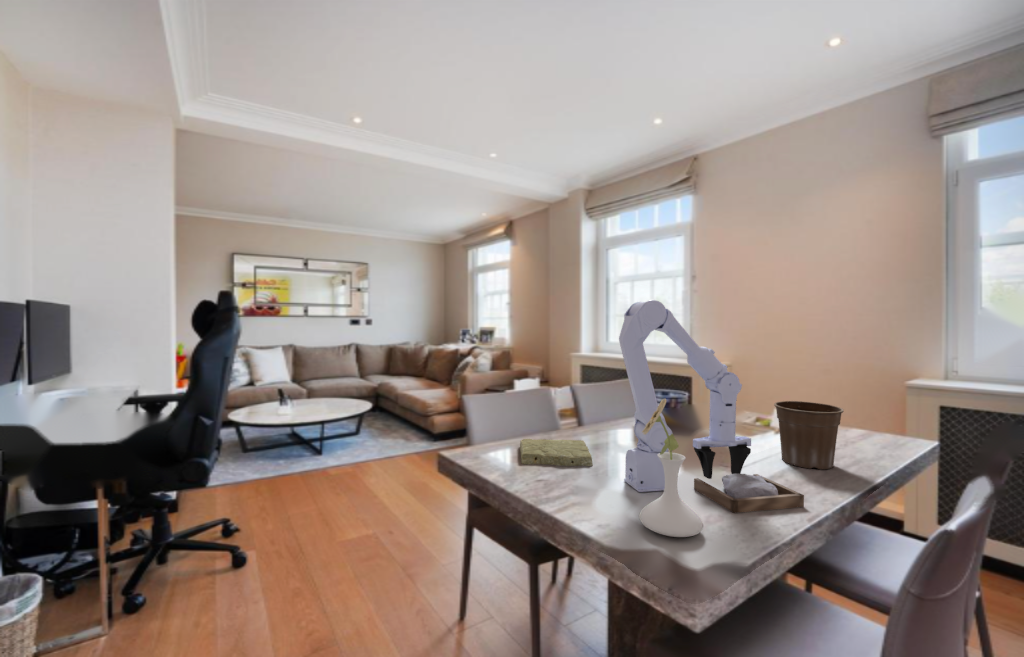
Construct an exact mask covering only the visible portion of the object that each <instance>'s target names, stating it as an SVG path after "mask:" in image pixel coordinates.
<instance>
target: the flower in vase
mask: <svg viewBox="0 0 1024 657" xmlns="http://www.w3.org/2000/svg"><path fill="white" fill-rule="evenodd" d="M666 404H667V399H666V398H662V399H661V401H660V403H659V404H658V408H657V410H656V411H655V412H654V413H653V415H652V417H651V419H650V421H649V422H648V423H647V424H646V426H645V428H644V430H643V431H642V433H643V432H644V433H643V434H647V433H648V432H649V430H650V429H651V428H652V426H653V425H654V423H655V422H661V424H662V426H663V428H664V430H665V432H666V435H667V439H666V440H665V441H664V443H665V446H664V447H663V448H662V451H661V453H659V454H658V457H659V459H660V460H661V462H662V465H663V468H664V475H665V489H664V490H663V493H662V494H661V496H659V497H658V498H657V499H654V500H653V501H651V502H649V503H648V504H647V505H645V506H644V507H643V508H642V509H641V510H640V513H639V515H638V517H639V520H640V522H641V524H642V525H643V526H644V527H646V528H647V529H649V530H650V531H651V532H655V533H657V534H660V535H663V536H667V537H672V538H673V537H674V538H686V537H687V538H688V537H692V536H696V535H698V534H700V533H701V532H702V530H703V529H704V522H703V520H702V518H701V516H700V515H699V514H698V513H697V512H696V510H694V509H693V508H692V507H691V506H690V505H689V504H687V502H685V501H684V500H682V498H681V497H680V494H679V491H678V478H679V472H680V468H681V467H682V465H683V463H684V461H685V460H686V458H687V457H686V456H685V455H683V454H681V453H676V452H673V451H675V450H677V449H678V448H679V443H678V442H677V439H676V437H675V435H674V434H671V435H670V436H669V435H668V432H667V430H666V428H665V425H664V423H663V422H662V420H661V416H660V414H661V413H662V412H663V410H664V409H665V406H666ZM667 448H668V450H669V451H668V452H665V451H666V449H667Z"/></svg>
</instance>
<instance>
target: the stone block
mask: <svg viewBox="0 0 1024 657" xmlns="http://www.w3.org/2000/svg"><path fill="white" fill-rule="evenodd" d="M763 477H764V476H763V475H760V476H754V475H753V474H746V473H739V474H736V473H734V474H731V473H730V474H726V475H723V476H722V477H721V482H722V485H723V488H724V489H723V490H725V492H726V494H727V495H729V496H731V497H733V498H735V499H737V498H749V497H761V496H774V495H778V490H777V488H776V487H775V486H774V485H773V484H771V483H767V482H766V481H765V480H764V478H763Z"/></svg>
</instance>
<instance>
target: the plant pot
mask: <svg viewBox="0 0 1024 657" xmlns="http://www.w3.org/2000/svg"><path fill="white" fill-rule="evenodd" d="M773 406H774V407H775V410H776V411H775V412H776V418H777V419H778V420H777V421H778V427H779V428H778V429H779V439H780V449H781V450H780V451H781V452H780V453H781V460H783V462H785V463H787V464H789V465H792V466H794V467H798V468H803V469H804V468H805V469H809V470H810V469H812V468H816V469H817V470H830V469H832V468H833V467H834V464H835V457H836V456H835V454H836V447H837V446H836V445H837V439H838V438H837V437H838V433H839V432H838V430H839V426H840V425H841V419H842V414H843V413H844V410H845V409H843V408H842V407H839V406H837V405H832V404H826V403H819V402H812V401H810V402H809V401H800V400H799V401H798V400H785V401H784V400H783V401H776V402H774V404H773Z"/></svg>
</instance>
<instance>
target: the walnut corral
mask: <svg viewBox="0 0 1024 657" xmlns="http://www.w3.org/2000/svg"><path fill="white" fill-rule="evenodd" d="M752 475H754V476H761V475H760V474H758V473H753V474H752ZM763 478H764V480H765V481H766V482H767V483H771V484H773V485H774V486H775V487H776V488H777V490H778V495H774V496H761V497H749V498H737V499H735V498H733V497H731V496H729V495H728V494H727V492H726V493H725V492H724V491H722V490H720V489H718V488H716V487H715V486H713V485H711V484H709V483H707V482H706V481H704V480H702V479H701V478H698V477H696V478H693V490H694V491H697V492H698V493H700V494H701V495H703V496H705V497H706V498H709V499H710V500H711V501H714V502H715V503H716V504H719V505H720V506H721V507H722V508H725V509H726V510H728V511H730V512H731V513H733V514H738V513H750V512H759V511H760V512H761V511H772V510H783V509H795V508H804V507H805V494H802V493H800V492H798V491H796V490H793V489H792V488H789V487H786V486H784V485H782V484H780V483H777V482H776V481H773V480H771V479H769V478H766V477H764V476H763Z"/></svg>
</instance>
